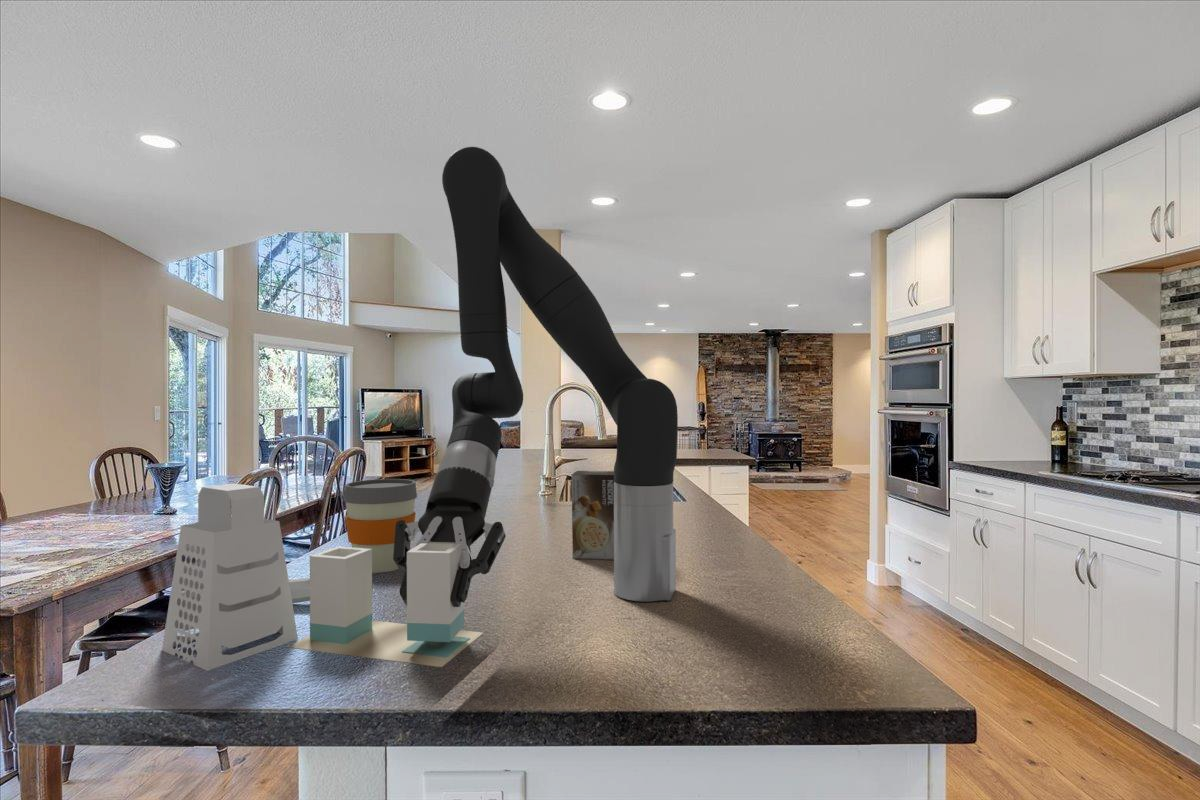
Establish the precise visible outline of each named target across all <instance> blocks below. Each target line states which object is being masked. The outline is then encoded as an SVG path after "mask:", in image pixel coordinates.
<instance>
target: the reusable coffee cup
mask: <svg viewBox="0 0 1200 800" xmlns="http://www.w3.org/2000/svg"><path fill="white" fill-rule="evenodd" d="M417 492H418V491H417V486H416V481H415V480H414V479H413V480H412V479H407V478H406V479H405V478H403V479H402V478H379V479H378V478H377V479H365V480H357V481H356V480H355V481H351V482H348V483H345V485H344V492H343V502H345V507H346V508H345V509H346V515H345V525H346V533H347V541H348V542H349V543H350V544H351V547H352V548H366V549H372V574H378V573H387V572H392V571H397V570H399V568H398V567H397V565H396V563H395V562H394V560H393V553H394V540H395V526H396V523H397V522H398V521H399V520H404V521H405V523H406V524H407V523H412V522H416V511H414V510H415V502H416V499H417V498H418V493H417Z"/></svg>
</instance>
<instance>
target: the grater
mask: <svg viewBox="0 0 1200 800" xmlns="http://www.w3.org/2000/svg"><path fill="white" fill-rule="evenodd" d="M197 501H198V503H197V504H198V505H197V510H198V513H197V516H198V517H197V522H195V523H194V522H193V523H187V524H183V525H180V529H179V530H180V531H179V536H178V543H177V550H176V556H175V564H174V569H173V576H172V583H171V588H170V595H169V602H168V606H167V607H168V609H167V614H166V620H165V628H164V634H163V640H162V647H161V651H163V652H165V653H167V654H169V655H172V656H175V655H176V654H177V658H180V657H181V656H182V659H183V661H185V660H186V659H187V660H188V662H187V663H191V661H192V662H193V666H195V667H198V668H201V670H202V669H203V670H204V671H206V672H207V671H210V670H214V669H216V668H219V667H222V666H224V665H228V664H230V663H233V662H237V661H239V660H240V661H241V660H242V659H245V658H247V657H250V656H254V655H256V654H259V653H262V652H266V651H268V650H271V649H274V648H276V647H279V646H282V645H285V644H288V643H290V642H294V641H296V640H298V639H299V638H298V637H299V636H298V632H297V631H298V630H297V625H296V617H295V611H294V605H293V603H292V598H291V592H290V586H289V580H290V579H289V574H288V568H287V562H286V557H285V549H284V543H283V542H284V541H283V536H282V531H281V524H280V521H279V520H275V519H270V518H269V519H268V518H265V495H264V493H263V491H262V489H261V486H257V485H247V484H241V483H234V482H233V483H225V484H217V485H216V484H215V485H209V486H202V487H201V488H200V490H199V493H198V496H197ZM183 556H184V557H185V559H184V561H183V559H182V557H183ZM187 559H189V563H188V562H187ZM193 559H195V562H193ZM198 560H200V561H198ZM200 589H203V591H201V590H200ZM181 590H183V591H185V595H184V596H182V595H181ZM189 592H190V593H189ZM192 592H195V596H194V597H192ZM198 593H199V594H200V595H198V596H197V594H198ZM197 629H198V632H196V630H197ZM191 630H193V633H191ZM178 633H179V635H178ZM277 633H279V634H281V635H279V636H278V637H277V638H276V639H274V640H271V641H268V642H266V643H262V644H260V645H256V646H254V647H251V648H248V649H247V648H246V649H245V650H242V651H239V652H236V653H232V654H223V653H222V652H223V651H222V647H225V648H228V649H233V648H236V647H240V646H242V645H245V644H248V643H252V642H255V641H257V640H260V639H263V638H266V637H269V636H271V635H275V634H277ZM193 641H195V646H194V645H193ZM188 643H189V644H188ZM180 645H181V646H180ZM178 646H180V648H181V649H180V650H179V649H178ZM174 647H175V648H174ZM184 647H186V651H185V652H184V651H183V650H184ZM189 649H191V654H190V655H189ZM194 651H196V654H197V655H196V657H194Z"/></svg>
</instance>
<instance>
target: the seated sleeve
mask: <svg viewBox="0 0 1200 800" xmlns="http://www.w3.org/2000/svg"><path fill="white" fill-rule="evenodd" d="M309 578H310V601H309V636H310V640H316V641H324V642H332V643H340V644H347V643H349V642H350V641H352V640H354V639H356V638H357V637H359V636H361V635H362V634H364V633H366V632H368V631H369V630H371V629H372V621H373V573H372V549H366V548H352V546H351V547H349V546H335V547H332V548H329V549H327V550H323V551H320V552H317V553H315V554H312V555H309Z"/></svg>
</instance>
